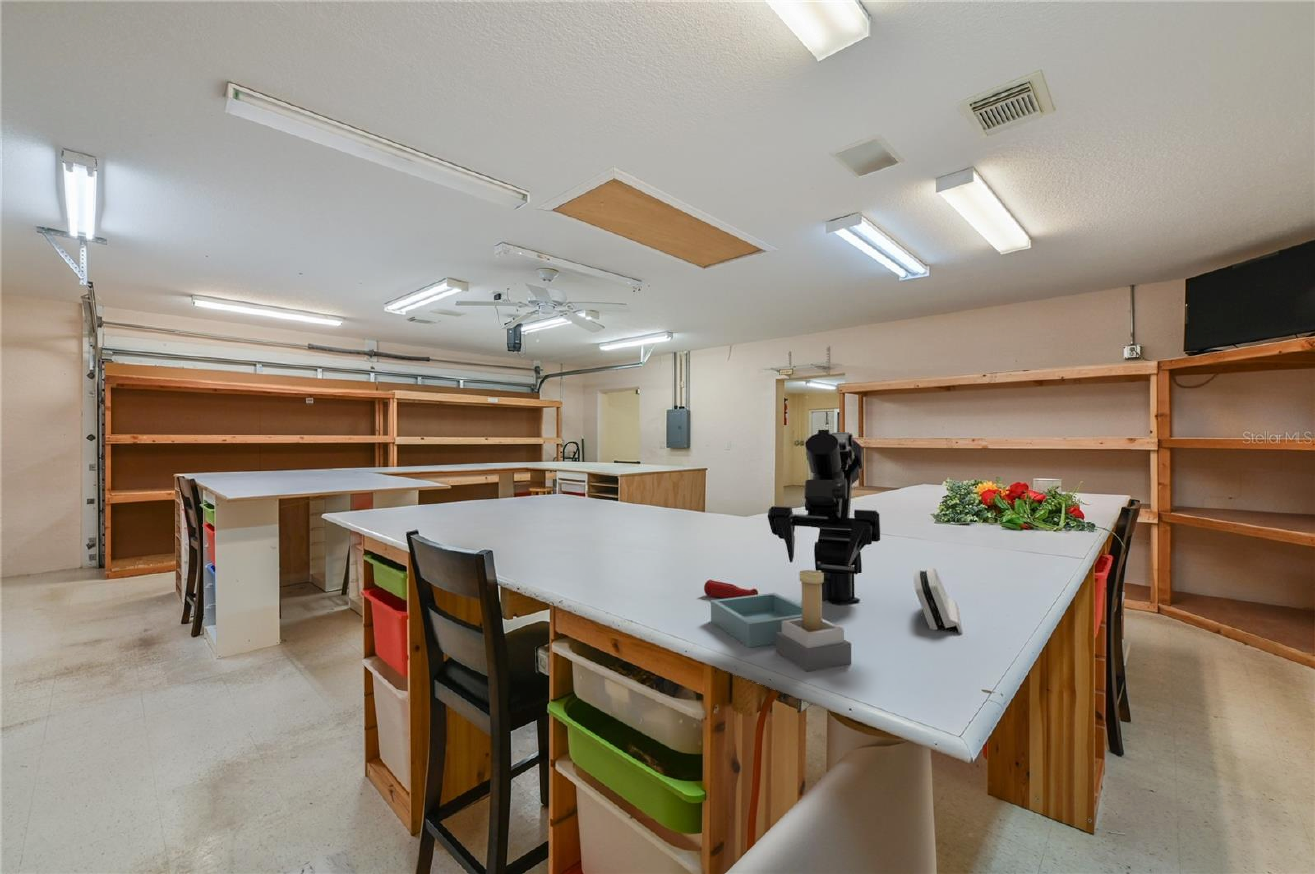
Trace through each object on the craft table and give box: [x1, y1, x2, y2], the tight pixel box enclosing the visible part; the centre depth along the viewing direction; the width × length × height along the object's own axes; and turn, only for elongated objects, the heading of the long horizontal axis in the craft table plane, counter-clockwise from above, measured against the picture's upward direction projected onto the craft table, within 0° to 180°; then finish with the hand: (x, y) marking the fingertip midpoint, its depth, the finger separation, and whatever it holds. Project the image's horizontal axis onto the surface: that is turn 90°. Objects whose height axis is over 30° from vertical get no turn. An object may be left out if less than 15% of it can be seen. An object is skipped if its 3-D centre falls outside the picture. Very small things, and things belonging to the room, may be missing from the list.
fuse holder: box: [775, 618, 852, 672], centre depth 81 cm, size 8×8×5 cm
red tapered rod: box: [703, 579, 759, 599], centre depth 107 cm, size 4×25×4 cm, turn 50°
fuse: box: [799, 569, 824, 632], centre depth 81 cm, size 4×4×10 cm
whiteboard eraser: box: [913, 567, 964, 634], centre depth 99 cm, size 17×5×10 cm, turn 152°
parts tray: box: [710, 592, 802, 648], centre depth 94 cm, size 14×14×4 cm
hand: (818, 563), depth 87 cm, fingers open, 9 cm apart
